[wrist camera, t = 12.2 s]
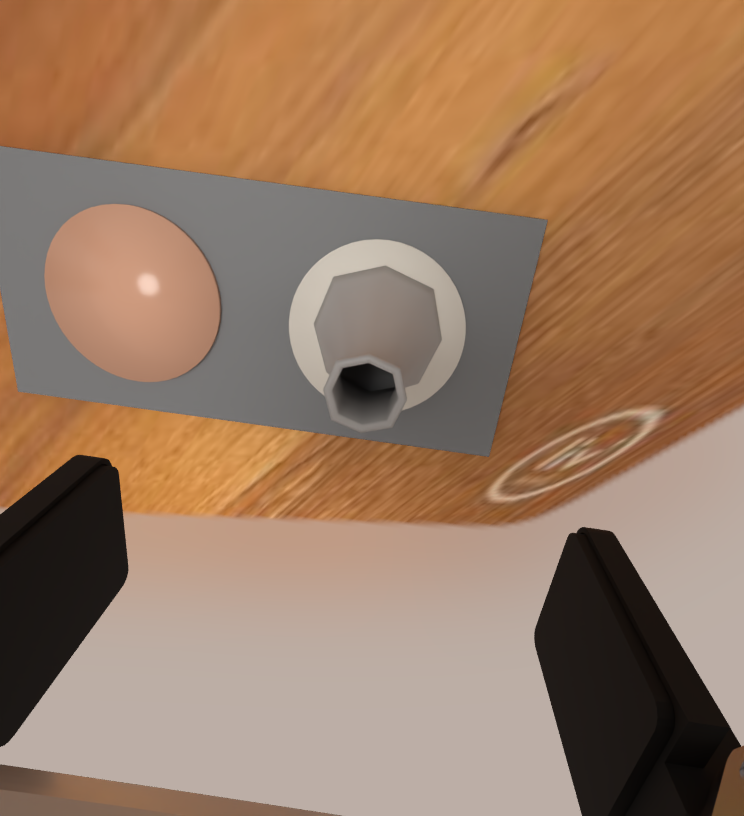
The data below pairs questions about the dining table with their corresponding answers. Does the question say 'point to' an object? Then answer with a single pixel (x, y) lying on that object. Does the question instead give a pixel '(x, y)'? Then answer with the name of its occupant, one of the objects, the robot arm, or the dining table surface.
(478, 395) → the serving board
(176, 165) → the dining table surface
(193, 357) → the peach domed disc
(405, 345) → the flask
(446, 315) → the cream coaster
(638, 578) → the robot arm
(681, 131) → the dining table surface
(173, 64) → the dining table surface
